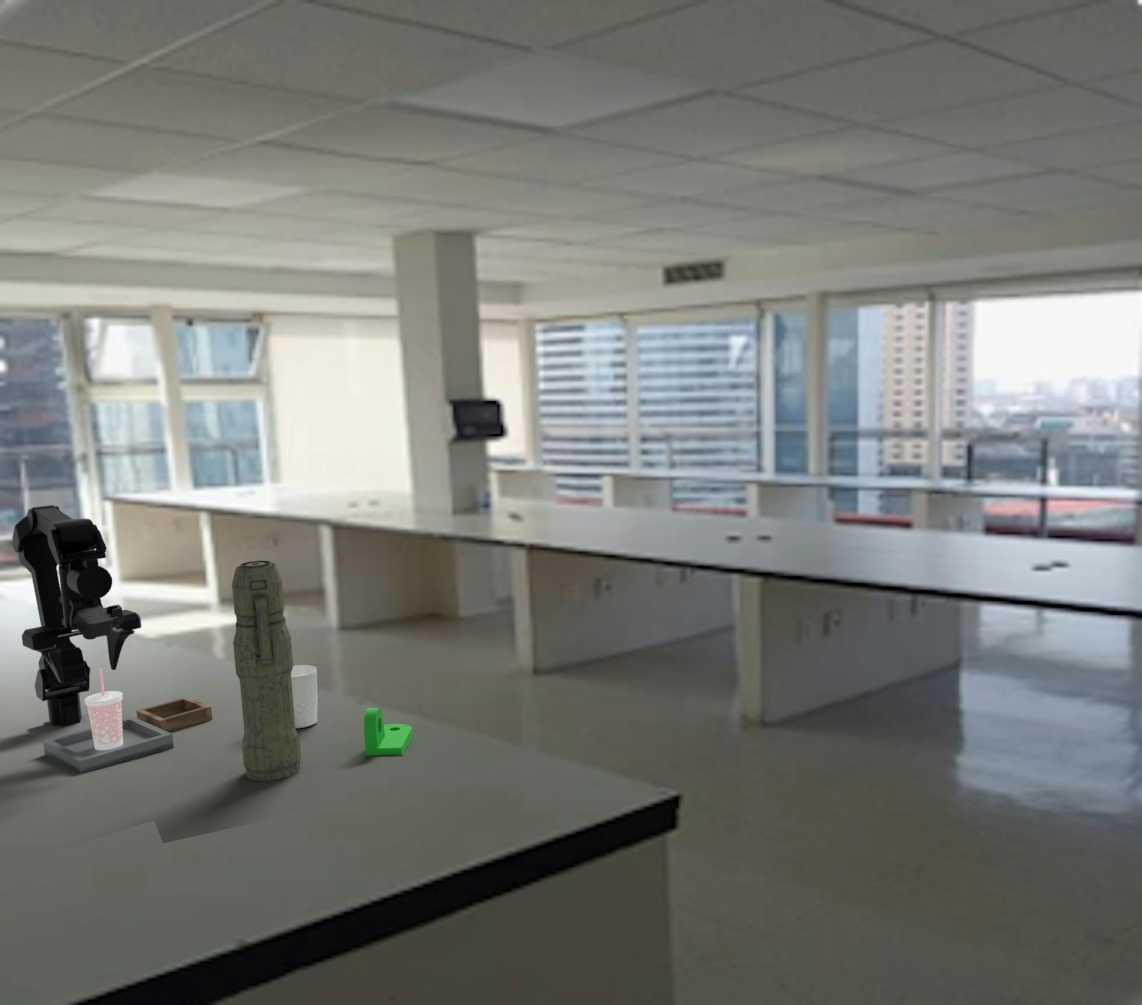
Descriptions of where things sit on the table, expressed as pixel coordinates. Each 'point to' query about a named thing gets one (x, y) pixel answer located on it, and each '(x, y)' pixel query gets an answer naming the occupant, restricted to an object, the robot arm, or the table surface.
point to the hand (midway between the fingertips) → (87, 675)
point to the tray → (84, 756)
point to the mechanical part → (384, 735)
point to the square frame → (191, 708)
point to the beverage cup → (105, 717)
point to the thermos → (264, 673)
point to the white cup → (304, 695)
